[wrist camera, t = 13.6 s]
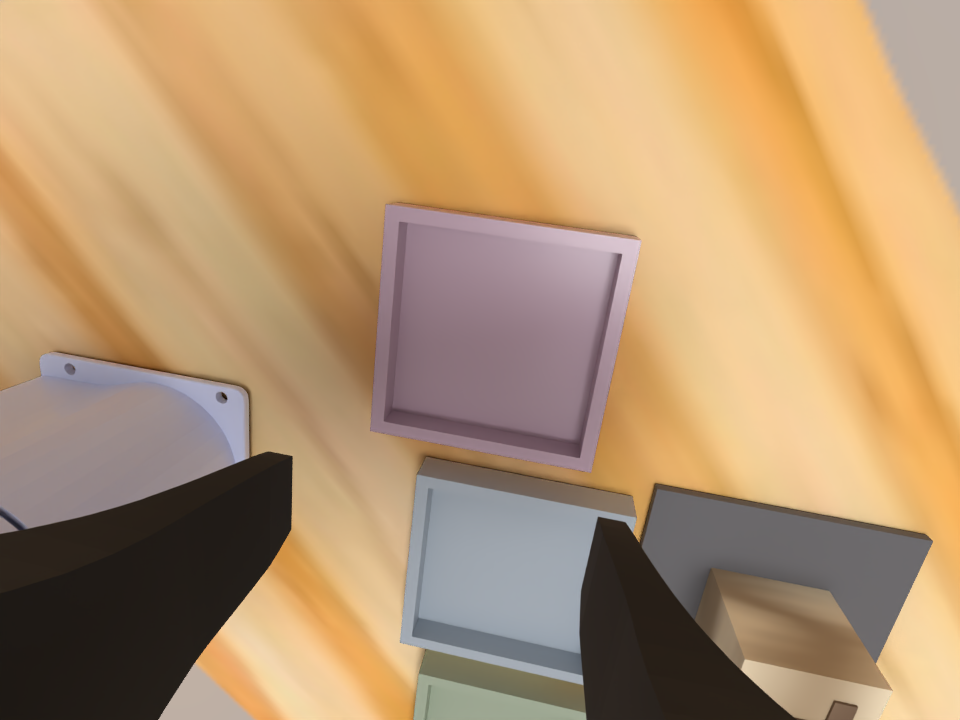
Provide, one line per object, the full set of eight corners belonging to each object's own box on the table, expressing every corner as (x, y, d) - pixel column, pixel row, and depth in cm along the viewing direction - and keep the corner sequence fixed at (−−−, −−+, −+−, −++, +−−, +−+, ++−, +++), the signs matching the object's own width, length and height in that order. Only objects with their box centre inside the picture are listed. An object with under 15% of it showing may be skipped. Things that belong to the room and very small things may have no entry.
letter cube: (684, 653, 23) (709, 760, 19) (711, 567, 22) (745, 661, 18) (794, 677, 23) (846, 793, 19) (829, 590, 22) (894, 693, 17)
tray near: (382, 415, 23) (370, 431, 21) (398, 202, 20) (385, 204, 18) (589, 453, 22) (591, 472, 20) (636, 236, 19) (641, 240, 18)
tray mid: (409, 617, 26) (400, 642, 24) (426, 456, 23) (417, 474, 22) (591, 658, 25) (593, 687, 23) (632, 496, 22) (636, 517, 21)
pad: (605, 674, 25) (606, 682, 25) (655, 483, 22) (657, 489, 21) (837, 727, 24) (841, 736, 23) (926, 534, 21) (933, 541, 20)
